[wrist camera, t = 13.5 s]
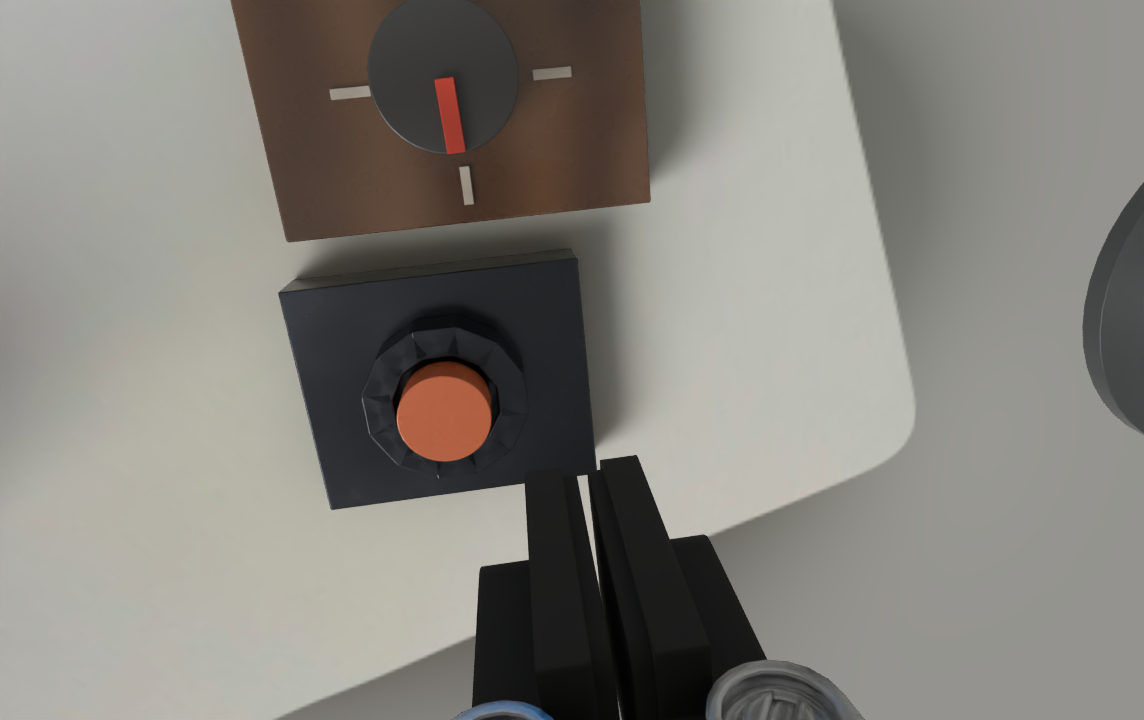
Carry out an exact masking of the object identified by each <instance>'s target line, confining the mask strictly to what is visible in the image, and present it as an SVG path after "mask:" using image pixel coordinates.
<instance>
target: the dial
mask: <svg viewBox="0 0 1144 720" xmlns="http://www.w3.org/2000/svg"><path fill="white" fill-rule="evenodd" d="M367 76H368V83H369V88H370V92H371V96H372V99H373V101H374V104H375V106H376V108H377V110H378V112H379V113H380V115H381V117H382V118H383V120H384V121H385V122H386V124H387V125H388V126H389V127H390V128H391V129H392V130H393V132H394V133H396V134H397V135H398V136H399V137H400V138H402V139H403V140H404V141H406V142H407V143H409V144H410V145H413V146H415V147H417V148H419V149H421V150H424V151H427V152H431V153H435V154H444V155H452V154H461V153H466V152H469V151H472V150H475V149H477V148H479V147H481V146H483V145H484V144H486V143H487V142H489V141H490V140H492V139H493V138H494V137H495V136H496V135H497V134H498V133H499V132H500V131H501V130H502V128H503V127H504V126H505V124H506V123H507V121H508V120H509V118H510V116H511V114H512V112H513V110H514V107H515V104H516V100H517V96H518V90H519V67H518V62H517V57H516V54H515V51H514V48H513V45H512V43H511V41H510V39H509V37H508V35H507V34H506V32H505V31H504V29H503V27H502V26H501V25H500V24H499V22H498V21H497V20H496V19H495V18H494V17H493V16H492V15H491V14H490V13H489V12H488V11H486V10H485V9H484V8H482V7H481V6H479V5H478V4H476V3H474V2H472V1H470V0H407V1H406V2H404V3H402V4H400V5H399V6H398V7H396V8H395V9H394V10H392V11H391V12H390V13H389V14H388V15H387V16H386V18H385V19H384V20H383V21H382V23H381V24H380V26H379V27H378V29H377V31H376V33H375V35H374V37H373V40H372V42H371V45H370V50H369V54H368V62H367Z"/></svg>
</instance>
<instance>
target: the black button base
mask: <svg viewBox="0 0 1144 720" xmlns="http://www.w3.org/2000/svg"><path fill="white" fill-rule="evenodd" d="M278 294H279V298H280V303H281V307H282V311H283V315H284V319H285V323H286V327H287V331H288V335H289V340H290V344H291V348H292V352H293V356H294V360H295V364H296V368H297V373H298V377H299V381H300V385H301V389H302V393H303V397H304V401H305V406H306V410H307V414H308V418H309V422H310V426H311V430H312V434H313V439H314V443H315V447H316V451H317V455H318V459H319V463H320V467H321V472H322V476H323V480H324V484H325V488H326V492H327V496H328V500H329V505H330V509H331V510H335V509H342V508H349V507H356V506H364V505H371V504H378V503H385V502H393V501H400V500H407V499H414V498H422V497H429V496H436V495H443V494H451V493H458V492H465V491H472V490H480V489H487V488H494V487H501V486H508V485H516V484H523V483H525V478H524V471H525V470H533V469H540V468H547V467H554V466H560V467H561V473H562V475H567V474H574V473H576V475H577V476H581V475H588V474H587V472H589V471H596V470H597V466H596V455H595V444H594V433H593V423H592V412H591V401H590V390H589V379H588V368H587V357H586V346H585V335H584V325H583V314H582V303H581V292H580V281H579V270H578V259H577V257H576V256H575V254H574V252H573V251H572V249H561V250H553V251H544V252H535V253H527V254H518V255H509V256H500V257H492V258H483V259H474V260H465V261H457V262H448V263H439V264H430V265H422V266H413V267H404V268H396V269H387V270H378V271H369V272H361V273H352V274H343V275H334V276H326V277H317V278H308V279H299V280H293V281H291V282H290V283H289V284H288V285H287V286H286V287H284V288H283V289H282V290H281V291H280V292H279V293H278ZM440 361H452V362H458V363H461V364H464V365H466V366H468V367H470V368H472V369H473V370H475V371H476V372H477V373H478V374H479V375H480V376H481V377H482V378H483V379H484V381H485V382H486V384H487V386H488V388H489V391H490V395H491V409H492V420H491V428H490V431H489V434H488V436H487V438H486V440H485V441H484V443H483V444H482V445H481V446H480V447H479V448H478V449H477V450H476V451H475V452H473V453H472V454H470V455H468V456H466V457H464V458H461V459H458V460H454V461H435V460H431V459H427V458H425V457H423V456H421V455H419V454H417V453H416V452H414V451H413V450H412V449H411V448H410V447H409V446H408V445H407V444H406V443H405V442H404V440H403V439H402V437H401V435H400V432H399V430H398V426H397V410H398V406H399V403H400V400H401V396H402V393H403V390H404V387H405V385H406V383H407V381H408V380H409V379H410V377H411V376H412V375H413V374H414V373H415V372H416V371H418V370H419V369H420V368H422V367H424V366H426V365H428V364H431V363H434V362H440Z"/></svg>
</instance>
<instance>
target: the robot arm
mask: <svg viewBox="0 0 1144 720" xmlns="http://www.w3.org/2000/svg"><path fill="white" fill-rule="evenodd" d="M587 474H588V485H589V494H590V503H591V512H592V521H593V529H594V538H595V547H596V556H597V565H598V574H599V583H600V591H599V587H598V581H597V576H596V571H595V566H594V561H593V556H592V551H591V546H590V541H589V536H588V531H587V526H586V521H585V516H584V511H583V506H582V501H581V495H580V490H579V485H578V480H577V475H576V473H574V474H567V475H562V473H561V467H560V466H554V467H547V468H540V469H533V470H525V471H524V478H525V496H526V514H527V533H528V551H529V560H525V561H518V562H511V563H504V564H497V565H490V566H484V567H481V568H480V574H479V589H478V607H477V626H476V644H475V663H474V681H473V699H472V708H471V709H468V710H466V711H463V712H461V713H460V714H459V715H457V716H456V717H454V718H453V719H452V720H620V717H619V709H618V702H619V707H620V712H621V717H622V720H865V719H864V718H863V717H862V715H861V714H860V713H859V712H858V710H857V709H856V708H855V707H854V706H853V704H852V703H851V702H850V700H849V699H848V698H847V697H846V695H845V694H844V693H843V692H842V691H841V690H839V689H838V687H836V686H835V685H834V684H833V683H832V682H831V681H830V680H829V679H828V678H826V677H824V676H822V675H821V674H819V673H817V672H815V671H814V670H812V669H810V668H807V667H804V666H801V665H798V664H794V663H791V662H788V661H776V660H767V658H766V656H765V654H764V652H763V650H762V648H761V646H760V644H759V642H758V640H757V638H756V635H755V633H754V631H753V629H752V627H751V625H750V623H749V621H748V619H747V617H746V615H745V613H744V610H743V608H742V606H741V604H740V602H739V600H738V598H737V596H736V594H735V592H734V590H733V587H732V585H731V583H730V581H729V579H728V577H727V575H726V573H725V571H724V569H723V567H722V564H721V563H720V560H719V559H718V556H717V554H716V552H715V550H714V548H713V546H712V544H711V542H710V540H709V539H708V537H707V536H706V535H697V536H690V537H683V538H676V539H669V537H668V534H667V531H666V529H665V526H664V524H663V521H662V519H661V516H660V513H659V511H658V508H657V506H656V503H655V500H654V498H653V495H652V493H651V490H650V488H649V485H648V482H647V480H646V477H645V475H644V472H643V469H642V467H641V464H640V462H639V459H638V457H637V455H633V456H626V457H619V458H612V459H605V460H600V470H596V471H589V472H587ZM600 592H601V596H600ZM617 697H618V699H617Z"/></svg>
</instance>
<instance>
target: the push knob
mask: <svg viewBox="0 0 1144 720" xmlns="http://www.w3.org/2000/svg"><path fill="white" fill-rule="evenodd" d="M491 420H492V409H491V395H490V391H489V388H488V386H487V384H486V382H485V381H484V379H483V378H482V377H481V376H480V375H479V374H478V373H477V372H476V371H475V370H473V369H472V368H470V367H468V366H466V365H464V364H461V363H458V362H452V361H440V362H434V363H431V364H428V365H426V366H424V367H422V368H420V369H419V370H418V371H416V372H415V373H414V374H413V375H412V376H411V377H410V379H409V380H408V381H407V383H406V385H405V387H404V390H403V393H402V396H401V400H400V403H399V406H398V410H397V426H398V430H399V432H400V435H401V437H402V439H403V440H404V442H405V443H406V444H407V445H408V446H409V447H410V448H411V449H412V450H413V451H414V452H416V453H417V454H419V455H421V456H423V457H425V458H427V459H431V460H435V461H454V460H458V459H461V458H464V457H466V456H468V455H470V454H472V453H473V452H475V451H476V450H477V449H478V448H479V447H480V446H481V445H482V444H483V443H484V441H485V440H486V438H487V436H488V434H489V431H490V428H491Z"/></svg>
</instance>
